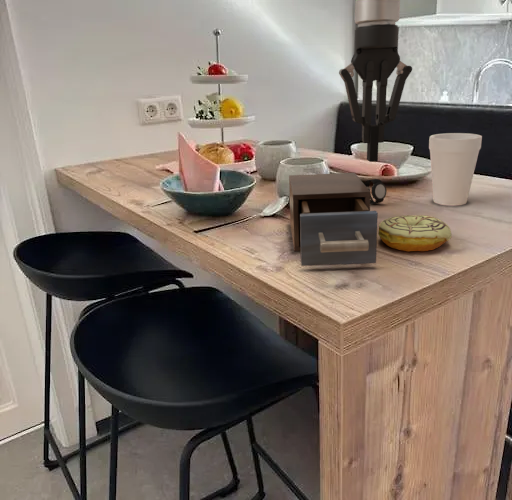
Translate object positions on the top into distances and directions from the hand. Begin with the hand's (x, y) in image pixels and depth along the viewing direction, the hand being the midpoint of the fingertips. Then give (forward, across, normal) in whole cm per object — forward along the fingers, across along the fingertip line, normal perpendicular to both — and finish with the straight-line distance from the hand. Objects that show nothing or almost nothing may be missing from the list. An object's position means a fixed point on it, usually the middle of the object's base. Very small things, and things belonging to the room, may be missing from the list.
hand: (372, 160), depth 95 cm
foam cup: (+10, -17, -3) cm, 20 cm away
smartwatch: (+10, -2, -4) cm, 11 cm away
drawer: (+9, +11, +26) cm, 30 cm away
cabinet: (+10, +11, +15) cm, 21 cm away
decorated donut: (+10, -2, +20) cm, 23 cm away
